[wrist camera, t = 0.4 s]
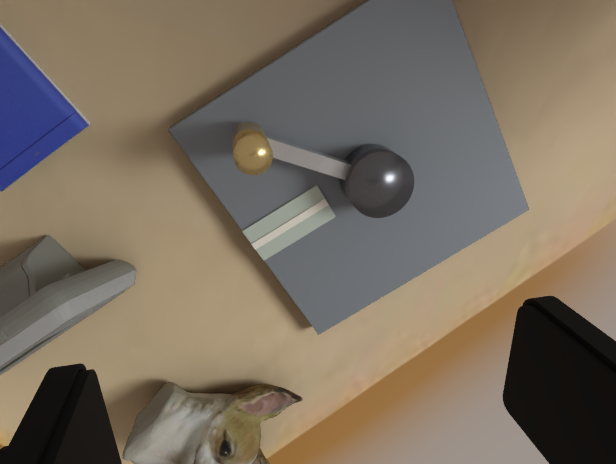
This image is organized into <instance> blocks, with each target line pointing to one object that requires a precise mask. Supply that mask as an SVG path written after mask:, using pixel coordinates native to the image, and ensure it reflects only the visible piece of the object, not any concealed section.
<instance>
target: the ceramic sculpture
mask: <svg viewBox="0 0 616 464" xmlns="http://www.w3.org/2000/svg"><path fill="white" fill-rule="evenodd" d="M302 400H303V398H302V397H300V396H298V395H296V394H295V393H293V392H291V391H289V390H287V389H284V388H282V387H277V386H273V385H269V384H261V385H256V386H252V387H249V388H246V389H244V390H241V391H237V392H235V393H233V394H220V393H217V394H206V393H189V392H186V391H185V390H183V389H182V388H181V387H179V386H178V385H177V384H175V383H173V382H168V383H166V384H165V385H164V386H163V387H162V388H161V389H160V391H159V392H158V393H157V394H156V395H155V396H154V397H153V398H152V400H151V401H150V403H149V404H148V405H147V406H146V407H145V408H144V409H143V410H142V411H141V412H140V413H139V414H138V416H137V417H136V420H135V423H134V426H133V429H132V431H131V433H130V435H129V437H128V440H127V443H126V446H125V449H124V451H123V459H125V460H131V461H132V462H133V463H135V464H269V462H268V460H267V459H266V458H265V456H264V455H263V453H262V451H261V449H260V440H261V431H260V423H261V421H263V420H267V419H268V418H272V417H275V416H277V415H278V414H280V413H281V412H282V411H283V410H284V409H285V408H286V407H288V406H290V405H291V404H293V403H296V402H299V401H302Z"/></svg>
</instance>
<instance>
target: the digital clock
mask: <svg viewBox="0 0 616 464" xmlns="http://www.w3.org/2000/svg"><path fill="white" fill-rule="evenodd" d="M135 277H136V269H135V268H134V267H133V265H131V264H130V263H128V262H125V261H121V260H113V261H110V262H108V263H105V264H102V265H100V266H97V267H94V268H91V269H89V270H86V269H85V268H84V267H83V266H82V265H81V264H79V263H78V262H77V261H76V260H75V259H74V258H73V257H72V256H71V255H70V254H69V253H68V252H67V251H66V250H65V249H64V248H63V247H62V246H61V245H60V244H59V243H58V242H56V241H55V240H54V239H53V238H52V237H51V236H49V235H47V236H45V237H44V238H42V239H41V240H39V241H38V242H36V243H35V244H33V245H32V246H31V247H29V248H28V249H26V250H25V251H23V252H22V253H21V254H19V255H18V256H16V257H15V258H13V259H12V260H11V261H9V262H8V263H6V264H5V265H3V266H2V267H0V375H1V374H3V373H4V372H6V371H7V370H9V369H10V368H12V367H13V366H15V365H16V364H18V363H19V362H21V361H22V360H24V359H25V358H27V357H28V356H30V355H31V354H33V353H34V352H36V351H37V350H39V349H40V348H42V347H43V346H45V345H46V344H48V343H49V342H51V341H52V340H54V339H55V338H57V337H58V336H59V335H61V334H62V333H64V332H65V331H67V330H68V329H70V328H71V327H73V326H74V325H76V324H77V323H79V322H80V321H82V320H83V319H85V318H86V317H88V316H89V315H91V314H92V313H94V312H95V311H97V310H98V309H100V308H101V307H103V306H104V305H106V304H107V303H109V302H110V301H112V300H113V299H115V298H116V297H117V296H119V295H120V294H122V293H123V292H125V290H127V289H128V288H130V287H131V286H133V285H134V283H135Z"/></svg>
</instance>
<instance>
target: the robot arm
mask: <svg viewBox="0 0 616 464" xmlns="http://www.w3.org/2000/svg"><path fill="white" fill-rule="evenodd" d="M503 401H504V405H505V407H506V409H507V411H508V412H509V414H510V415H511V416H512V417H513V419H514V420H515V421H516V422H517V424H518V425H519V426H520V427H521V429H522V430H523V431H524V432H525V434H526V435H527V436H528V437H529V439H530V440H531V441H532V442H533V444H534V445H535V446H536V447H537V449H538V450H539V451H540V452H541V454H542V455H543V456H544V457H545V459H546V460H547V461H548V462H549V464H616V341H615V340H613V339H612V338H610V337H609V336H607V335H606V334H605V333H603V332H602V331H601V330H600V329H598V328H597V327H596V326H594V325H593V324H591V323H590V322H589V321H587V320H586V319H585V318H583V317H582V316H581V315H579V314H578V313H576V312H575V311H574V310H572V309H571V308H570V307H568V306H567V305H566V304H564V303H563V302H561V301H560V300H559V299H557V298H556V297H554V296H545V297H538V298H531V299H527V300H525V302H524V303H523V306H521V307H520V308H519V309H518V312H517V317H516V322H515V329H514V334H513V340H512V345H511V351H510V357H509V362H508V368H507V374H506V380H505V385H504V391H503ZM0 464H122V463H121V459H120V456H119V452H118V449H117V445H116V442H115V438H114V435H113V431H112V427H111V424H110V420H109V417H108V413H107V410H106V406H105V403H104V399H103V396H102V392H101V388H100V385H99V381H98V378H97V374H96V372H95V371H94V370H93V369H91V370H86V367H85V366H84V365H83V364H74V365H68V366H61V367H54V368H51V369H49V370H48V372H47V373H46V375H45V377H44V379H43V381H42V383H41V385H40V386H39V388H38V390H37V392H36V394H35V396H34V398H33V400H32V402H31V404H30V406H29V408H28V409H27V411H26V413H25V415H24V417H23V419H22V421H21V423H20V425H19V427H18V429H17V431H16V432H15V434H14V436H13V438H12V440H11V442H10V444H9V446H5V447H3V448H2V449H0Z"/></svg>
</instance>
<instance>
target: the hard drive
mask: <svg viewBox="0 0 616 464" xmlns="http://www.w3.org/2000/svg"><path fill="white" fill-rule="evenodd" d="M90 124H91V123H90V122H89V121H88V120H87V119H86V118H85V117H84V116H83V114H82V113H81V112H80V111H79V110H78V109H77V108H76V107H75V105H74V104H73V103H72V102H71V101H70V100H69V99H68V98H67V97H66V95H65V94H64V93H63V92H62V91H61V90H60V89H59V88H58V87H57V86H56V84H55V83H54V82H53V81H52V80H51V79H50V78H49V77H48V76H47V74H46V73H45V72H44V71H43V70H42V69H41V68H40V67H39V66H38V65H37V64H36V62H35V61H34V60H33V59H32V58H31V57H30V56H29V55H28V54H27V52H26V51H25V50H24V49H23V48H22V47H21V46H20V45H19V44H18V43H17V41H16V40H15V39H14V38H13V37H12V36H11V35H10V34H9V33H8V32H7V30H6V29H5V28H4V27H3V26H2V25H1V24H0V191H3V190H5V189H6V188H8V187H9V186H10V185H11V184H13V183H14V182H15V181H17V180H18V179H19V178H20V177H22V176H23V175H24V174H26V173H27V172H28V171H30V170H31V169H32V168H34V167H35V166H36V165H38V164H39V163H40V162H42V161H43V160H44V159H45V158H47V157H48V156H49V155H51V154H52V153H53V152H55V151H56V150H57V149H59V148H60V147H61V146H63V145H64V144H65V143H66V142H68V141H69V140H70V139H72V138H73V137H74V136H76V135H77V134H78V133H80V132H81V131H82V130H84V129H85V128H86V127H88V126H89V125H90Z"/></svg>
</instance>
